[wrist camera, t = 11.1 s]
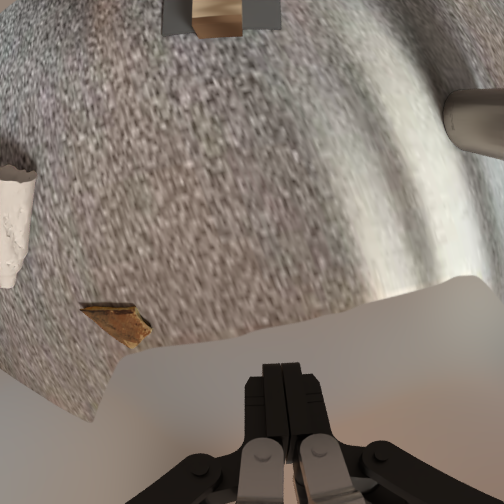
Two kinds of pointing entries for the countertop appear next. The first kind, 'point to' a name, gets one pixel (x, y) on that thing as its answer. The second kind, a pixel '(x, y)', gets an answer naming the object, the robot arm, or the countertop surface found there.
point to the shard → (120, 323)
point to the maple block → (217, 18)
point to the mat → (253, 16)
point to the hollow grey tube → (14, 220)
